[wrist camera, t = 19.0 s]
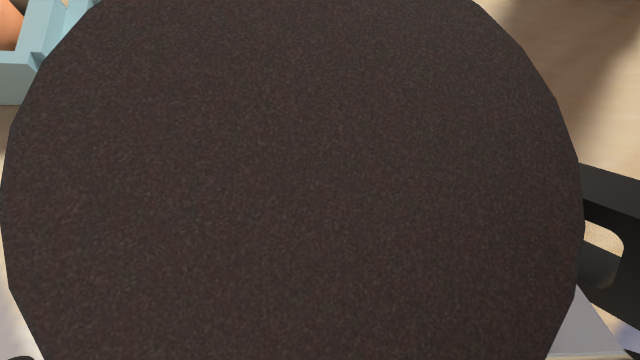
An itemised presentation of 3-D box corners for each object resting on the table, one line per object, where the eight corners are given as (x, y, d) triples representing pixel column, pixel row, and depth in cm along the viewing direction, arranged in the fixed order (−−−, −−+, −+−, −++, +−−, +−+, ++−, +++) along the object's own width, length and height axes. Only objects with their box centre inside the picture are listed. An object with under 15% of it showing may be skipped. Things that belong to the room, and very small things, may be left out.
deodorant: (272, 188, 19) (242, -127, 5) (365, 245, 18) (639, 83, 4) (205, 284, 17) (-168, 236, 3) (308, 351, 17) (459, 682, 2)
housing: (255, 25, 24) (250, -26, 20) (251, 161, 21) (245, 132, 17) (8, 13, 22) (-49, -45, 18) (-36, 160, 19) (-116, 127, 15)
